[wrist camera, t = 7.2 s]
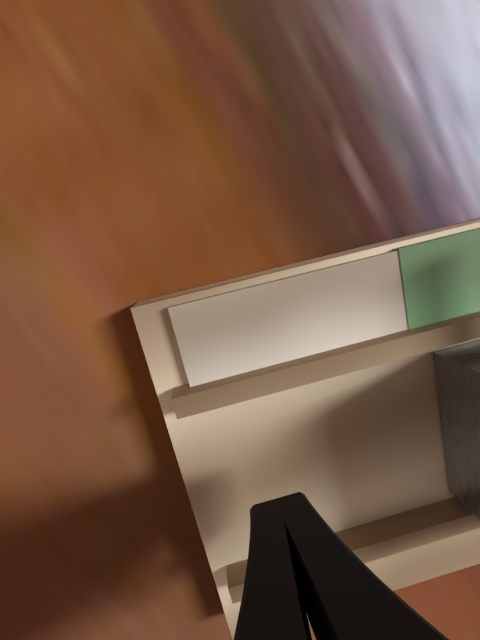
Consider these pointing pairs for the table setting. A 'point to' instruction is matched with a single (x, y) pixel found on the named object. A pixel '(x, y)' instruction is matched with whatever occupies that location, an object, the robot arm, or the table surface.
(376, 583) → the robot arm
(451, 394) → the gauge carriage
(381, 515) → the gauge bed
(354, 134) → the table surface
